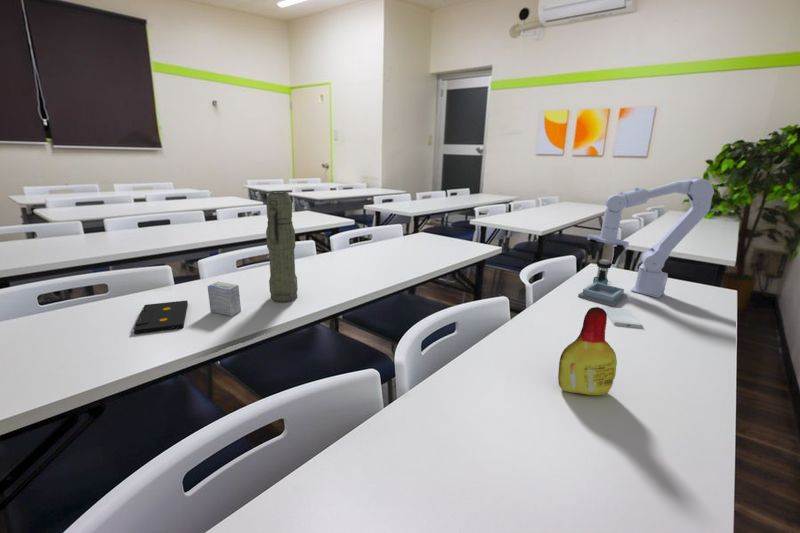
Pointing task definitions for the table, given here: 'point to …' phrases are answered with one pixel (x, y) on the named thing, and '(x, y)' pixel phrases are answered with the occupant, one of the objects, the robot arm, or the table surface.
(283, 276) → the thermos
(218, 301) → the grey layered block
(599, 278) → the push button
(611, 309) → the hard drive
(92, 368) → the table surface
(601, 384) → the bottle
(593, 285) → the end holder
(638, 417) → the table surface
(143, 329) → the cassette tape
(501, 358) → the table surface
